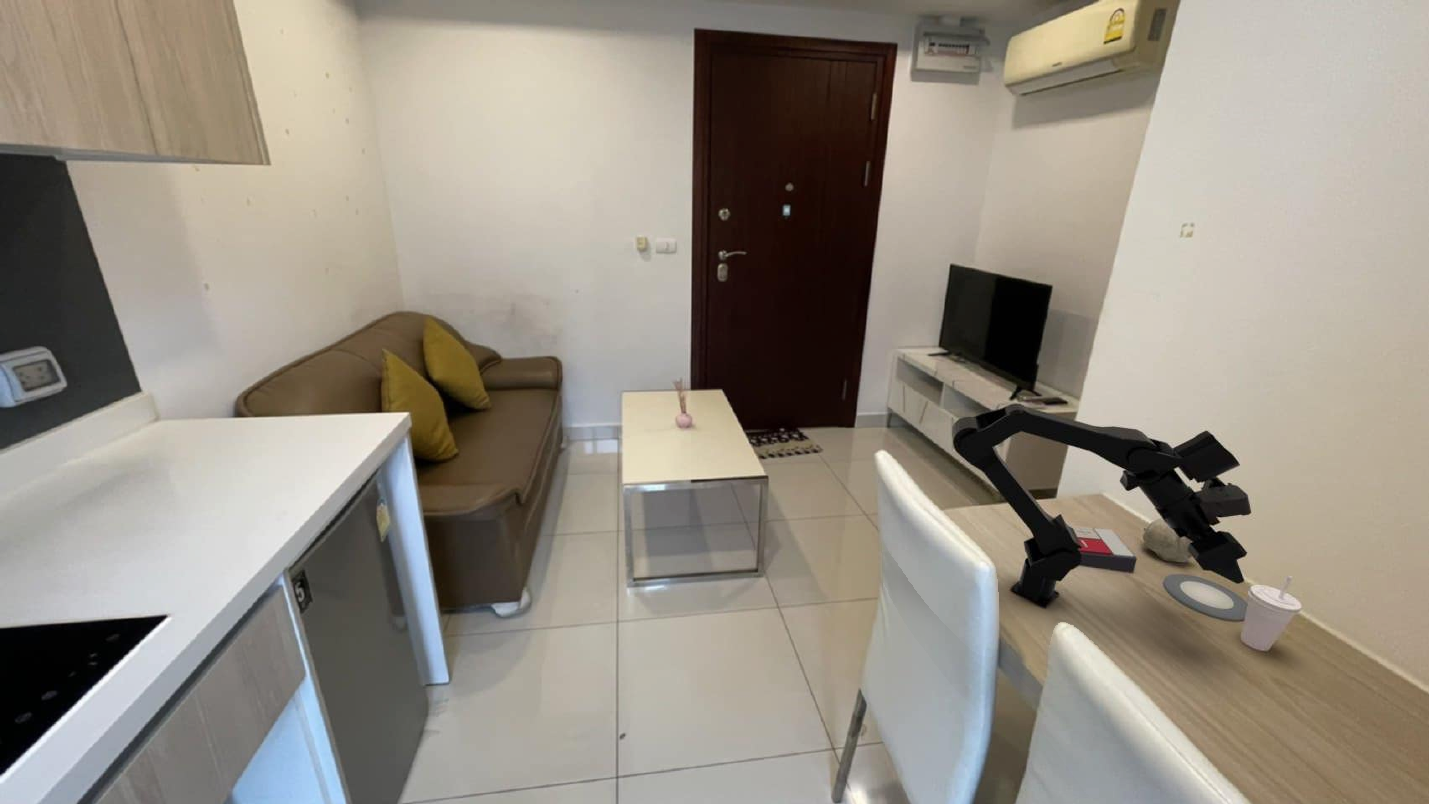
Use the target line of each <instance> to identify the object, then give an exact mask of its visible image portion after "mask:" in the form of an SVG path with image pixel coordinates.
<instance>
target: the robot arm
mask: <svg viewBox="0 0 1429 804" xmlns="http://www.w3.org/2000/svg"><path fill="white" fill-rule="evenodd" d="M1020 432H1022V433H1025V434H1030V435H1033V436H1036V437H1039V438H1043V439H1046V440H1049V441H1053V442H1057V443H1060V444H1063V445H1065V446H1066V445H1068V446H1070V447H1073V448H1077V449H1081V450H1084V451H1087V452H1090V453H1092V454H1095V455H1097V456H1098V457H1099V458H1101V459H1103V460H1105V461H1107V462H1109V463H1110V464H1113V465H1114V466H1117V467H1119V468H1121V469H1122V475H1121V477H1120V479H1119V483H1120V484H1121V485H1122V487H1123V489H1124V490H1125V491H1127V492H1130V491H1133V490H1134V489H1137V488H1139V489H1140V490H1141V491H1142V493H1143V494H1144V495H1145V496H1146V498H1147V499H1148V501H1150V503H1151V505H1153V506H1154V510H1156V512H1157V513H1158V514H1159V516H1160V518H1163V519H1164V521H1165V522H1166V523H1167V524H1168V525H1169V526H1170V527H1171V528H1172V529H1173V530H1174V531H1175V533H1176V534H1177V535H1178V536H1179V537H1180V538H1181V537H1184V536H1185V537H1186V538H1188V539H1189V540H1191V541H1192V543H1190V544H1189V547H1188V551H1189V553H1190V554H1191V555H1192V557H1191V558H1193V559H1194V560H1195V562H1196V564H1198V565H1199V567H1200V569H1202V571H1206V572H1207V571H1208V572H1209V571H1210V572H1213V573H1214V574H1217V575H1219V576H1221V577H1223V578H1225V579H1227V580H1229V581H1231V582H1233V583H1234V584H1238V585H1239V584H1242V583H1244V582H1245V578H1244V576H1243V574H1242V570H1241V568H1240V565H1239V562H1238V560H1239V559H1243V558H1245V557H1247V554H1248V551H1247V550H1246V549H1245V548H1244V547H1243V545H1242V544H1241V543H1240V542H1239V541H1238V540H1237V539H1236V538H1235V537H1234V535H1233V534H1232V533H1230V532H1229V531H1223V530H1218V531H1216V530H1215V529H1214V528H1213V527H1214V526H1216V525H1218V524H1220V523H1221V521H1220V520H1219V519H1220V518H1229V517H1235V516H1242V517H1245V516H1249V515H1250V514H1252V509H1251V503H1250V499H1249V495H1248V494H1247V493H1246V492H1245V491H1244V490H1243V489H1241V488H1240V487H1239V485H1235V484H1233V483H1231V482H1227V484H1225V483H1224V482H1223V481H1222V480H1221V479H1220V478H1219V477H1218V476H1220V475H1222V474H1224V473H1227V472H1229V471H1231V470H1234V469H1236V468H1238V467H1240V466H1241V464H1240V462H1239V461H1238V459H1237V458H1236V457H1235V455H1234V454H1233V453H1232V452H1231V451H1229V450H1228V449H1227V448H1225V447H1224V445H1223V444H1222V443H1221V442H1220V441H1219V440H1218V439H1217V438H1216V437H1215V435H1213V434H1212V433H1211V432H1209V430H1204V431H1201V432H1200V433H1198V434H1196V435H1195V436H1194V437H1192V438H1190V439H1189V440H1187V441H1186V440H1185V442H1184V441H1183V442H1182V443H1180V444H1179V445H1176V446H1174V447H1172V446H1171V445H1170V444H1169V443H1168V442H1165V441H1161V440H1157V439H1155V438H1151V437H1148V436H1147V435H1146V434H1145V433H1144V432H1143V431H1141V430H1139V429H1136V428H1131V427H1129V428H1128V427H1123V426H1111V425H1110V426H1098V425H1092V424H1088V423H1085V422H1081V421H1078V420H1074V419H1071V418H1068V417H1064V416H1060V415H1056V414H1053V413H1049V412H1045V411H1042V410H1039V409H1035V408H1031V407H1029V406H1025V405H1024V404H1022V403H1019V402H1018V403H1017V402H1016V403H1011V404H1009V405H1008V404H1007V405H1006V406H1003V407H1001V408H997V409H993V410H988V411H984V412H982V413H979V414H977V415H975V416H963V417H961V418H958V419H957V420H956V421H955V422H954V424H953V425H952V427H951V438H952V445H953V448H954V450H955V452H956V454H958V455H959V456H960V457H962V458H963V459H964V460H965V461H966V462H967V463H969V465H971V466H972V467H974V468H975V469H978V470H979V471H981V472H982V473H983V475H985V476H986V478H987V479H988V480H989V482H990V483H991V484H992V486H994V487H995V489H996V490H997V491H998V492H999V494H1000V495H1001V496H1002V497H1003V499H1004V500H1005V501H1006V502H1007V503H1008V504H1009V506H1010V507H1011V508H1012V510H1013V511H1014V512H1015V514H1017V516H1018V517H1019V518H1020V520H1022V522H1023V523H1024V524H1025V526H1026V527H1027V528H1028V529H1029V530H1030V532H1031V535H1032V536H1033V537H1031V538H1028V539H1026V540H1024V541H1023V546H1024V551H1025V554H1026V558H1025V559H1024V562H1023V567H1022V570H1021V574H1020V577H1019V580H1018V581H1017V582H1016V583H1014V584H1013V585H1012V586H1011V587H1010V591H1011V592H1012V593H1015V594H1016V595H1018V596H1020V597H1022V598H1024V599H1026V600H1028V601H1030V602H1031V603H1034V604H1035V605H1037V606H1038V607H1041V608H1043V609H1046V608H1048V607H1049V606H1050V605H1051V604H1052V603H1053V602H1054V601H1055V600H1056V599H1057V598H1059V597H1060V592H1058V591H1056V590H1055V587H1056V585H1057V582H1062V581H1063V579H1065V578H1066V576H1067V575H1068V573H1070V572H1071V570H1075V569H1076V568H1077V567H1079V566H1080V565H1079V564H1080V563H1081V560H1082V554H1081V552H1080V550H1079V549H1081V548H1082V546H1081V544H1080V542H1079V540H1078V538H1077V535H1076V533H1075V531H1074V529H1073V528H1071V527H1070V526H1071V525H1069V524H1068V523H1067V522H1066V520H1065V518H1064V517H1063V515H1062V514H1058V515H1057V516H1055V517H1053V516H1052V515H1050V514H1048V513H1047V512H1046V511H1045V510H1044V509H1043V508H1042V505H1040V504H1039V502H1038V501H1037V500H1036V499H1035V498H1034V496H1033V495H1032V494H1031V492H1030V491H1029V490H1028V489H1027V488H1026V486H1025V485H1024V484H1023V483H1022V481H1021V480H1020V479H1019V477H1018V476H1017V475H1016V474H1015V472H1013V470H1012V469H1011V468H1010V466H1008V465H1007V462H1005V460H1004V459H1003V458H1002V457H1001V455H1000V453H999V451H998V450H997V448H996V446H999V444H1001V443H1003V442H1004V441H1007V440H1008V439H1009V438H1011V437H1012V436H1014V435H1015V434H1018V433H1020ZM1177 468H1178V469H1179V470H1180V472H1181V473H1182V474H1183V475H1184V476H1185V478H1187V479H1188V480H1189V482H1190V481H1191V482H1192V481H1193V480H1194V481H1195V482H1196V483H1197V484H1200V483H1201V484H1202V483H1203V485H1202V486H1201V487H1200V490H1197V491H1194V489H1192V487H1191V486H1190V485H1189V486H1188V485H1187V483H1185V481H1184V480H1183V479H1182V477H1181V476H1180V475H1179V473H1178V472H1177V471H1176V470H1175V469H1177Z"/></svg>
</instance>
